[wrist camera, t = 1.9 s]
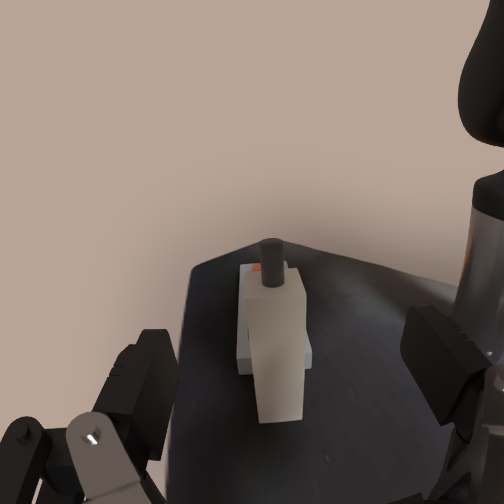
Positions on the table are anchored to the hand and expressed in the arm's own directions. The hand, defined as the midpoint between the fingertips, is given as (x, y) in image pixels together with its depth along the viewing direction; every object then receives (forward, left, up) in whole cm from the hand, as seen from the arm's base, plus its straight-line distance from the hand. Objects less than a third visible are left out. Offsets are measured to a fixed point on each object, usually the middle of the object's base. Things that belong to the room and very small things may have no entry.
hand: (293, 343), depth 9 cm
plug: (-9, -7, -18) cm, 21 cm away
